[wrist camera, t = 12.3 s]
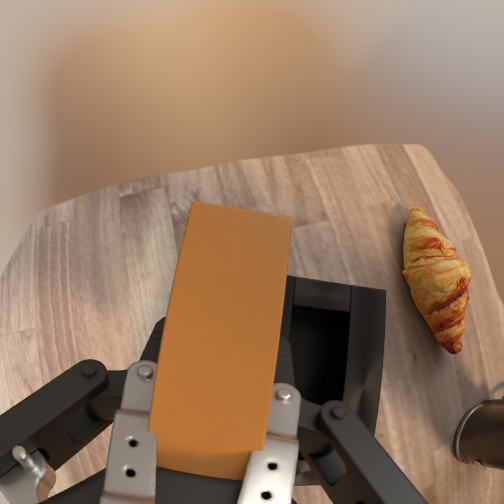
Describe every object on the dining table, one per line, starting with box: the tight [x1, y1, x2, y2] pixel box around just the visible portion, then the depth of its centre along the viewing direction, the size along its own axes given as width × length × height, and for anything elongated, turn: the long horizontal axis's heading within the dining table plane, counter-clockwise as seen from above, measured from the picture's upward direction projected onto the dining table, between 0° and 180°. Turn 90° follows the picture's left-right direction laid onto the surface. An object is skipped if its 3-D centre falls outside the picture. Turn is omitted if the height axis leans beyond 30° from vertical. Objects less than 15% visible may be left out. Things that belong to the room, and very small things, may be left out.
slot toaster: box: [280, 275, 386, 486], centre depth 26 cm, size 12×16×12 cm
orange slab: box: [148, 201, 292, 480], centre depth 12 cm, size 3×10×10 cm, turn 172°
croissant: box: [402, 206, 471, 354], centre depth 35 cm, size 21×10×8 cm, turn 10°
